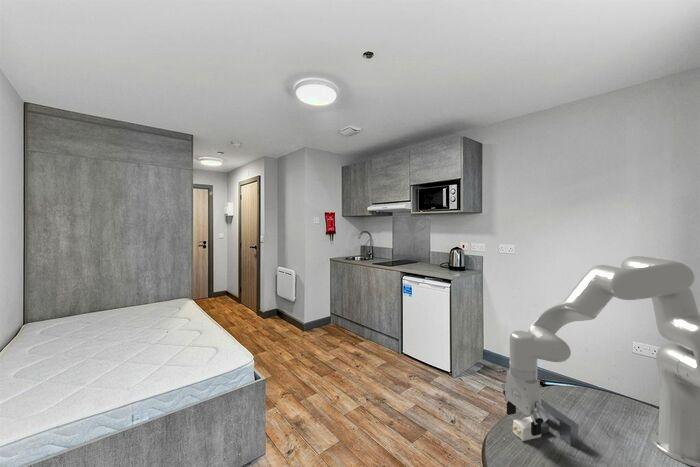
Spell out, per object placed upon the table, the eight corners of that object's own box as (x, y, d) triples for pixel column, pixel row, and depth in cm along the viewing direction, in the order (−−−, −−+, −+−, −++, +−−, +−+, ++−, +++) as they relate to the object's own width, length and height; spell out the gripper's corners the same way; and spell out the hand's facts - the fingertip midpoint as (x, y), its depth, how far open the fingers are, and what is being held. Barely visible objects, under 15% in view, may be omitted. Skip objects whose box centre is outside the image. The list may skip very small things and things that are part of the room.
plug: (540, 425, 96) (540, 414, 96) (551, 434, 92) (551, 422, 92) (510, 432, 93) (510, 420, 93) (520, 441, 89) (520, 429, 89)
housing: (538, 413, 102) (538, 397, 101) (578, 443, 88) (578, 424, 88) (531, 415, 101) (531, 398, 101) (570, 445, 87) (570, 426, 87)
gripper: (493, 360, 98) (493, 408, 99) (537, 388, 81) (536, 446, 82) (511, 357, 100) (511, 405, 101) (558, 384, 83) (557, 441, 84)
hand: (523, 423), depth 91 cm, fingers open, 9 cm apart
